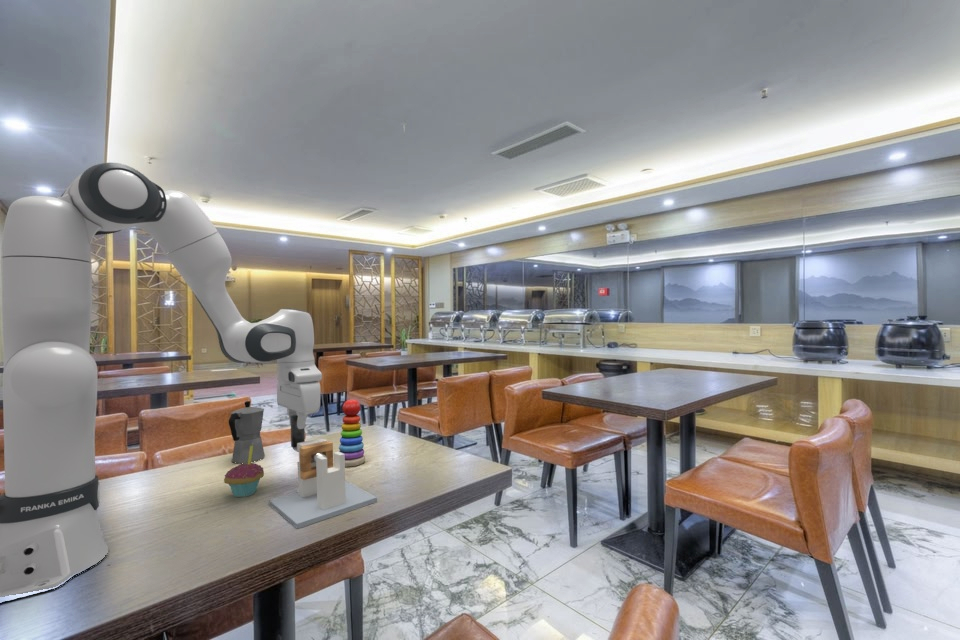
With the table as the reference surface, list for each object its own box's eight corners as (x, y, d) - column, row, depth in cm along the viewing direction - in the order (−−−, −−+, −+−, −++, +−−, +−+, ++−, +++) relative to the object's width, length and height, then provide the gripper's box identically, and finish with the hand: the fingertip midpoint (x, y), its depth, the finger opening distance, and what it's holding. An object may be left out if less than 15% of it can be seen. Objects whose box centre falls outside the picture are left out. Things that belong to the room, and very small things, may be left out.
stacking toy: (357, 468, 122) (355, 402, 122) (331, 467, 124) (330, 401, 124) (370, 459, 130) (368, 397, 130) (345, 458, 131) (344, 397, 132)
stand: (297, 528, 86) (295, 463, 86) (269, 504, 98) (267, 447, 98) (377, 501, 98) (375, 444, 98) (343, 483, 111) (342, 432, 111)
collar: (303, 480, 97) (303, 449, 98) (300, 478, 99) (299, 447, 99) (333, 472, 102) (332, 442, 102) (329, 470, 104) (329, 441, 104)
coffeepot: (246, 453, 140) (245, 397, 140) (274, 452, 139) (273, 397, 140) (215, 469, 124) (213, 407, 125) (246, 468, 124) (245, 406, 124)
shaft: (316, 465, 97) (315, 425, 97) (289, 451, 109) (288, 415, 109) (329, 462, 99) (328, 423, 99) (302, 448, 111) (301, 413, 111)
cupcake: (253, 484, 111) (252, 438, 111) (271, 491, 106) (270, 442, 106) (218, 495, 104) (217, 446, 104) (235, 503, 99) (234, 451, 99)
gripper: (270, 371, 115) (271, 422, 115) (298, 376, 100) (299, 436, 100) (294, 369, 119) (295, 418, 119) (324, 374, 104) (326, 431, 104)
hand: (297, 427), depth 109 cm, fingers open, 3 cm apart
